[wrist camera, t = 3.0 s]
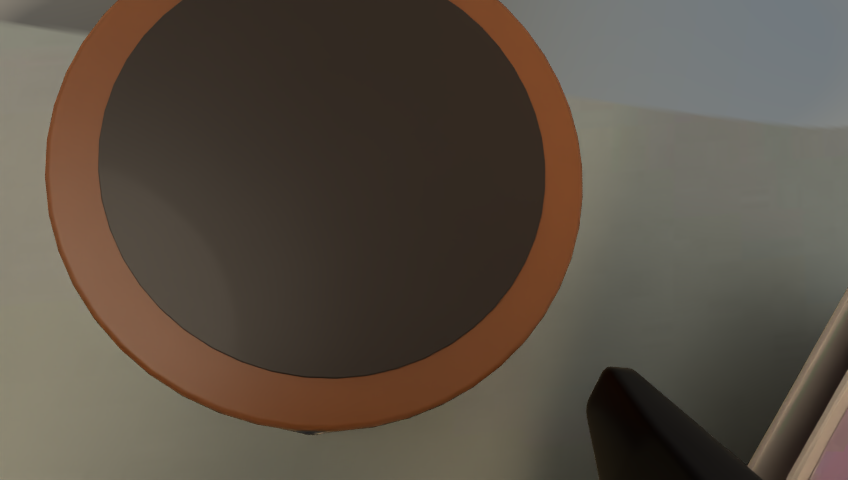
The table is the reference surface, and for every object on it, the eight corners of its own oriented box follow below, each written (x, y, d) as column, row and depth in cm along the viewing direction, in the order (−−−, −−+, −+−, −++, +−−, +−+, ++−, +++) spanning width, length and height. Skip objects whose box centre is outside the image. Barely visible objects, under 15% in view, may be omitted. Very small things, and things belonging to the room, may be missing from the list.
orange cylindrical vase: (385, 399, 17) (537, 491, 5) (204, 354, 16) (-71, 351, 5) (428, 229, 18) (621, 15, 7) (262, 181, 18) (161, -152, 6)
